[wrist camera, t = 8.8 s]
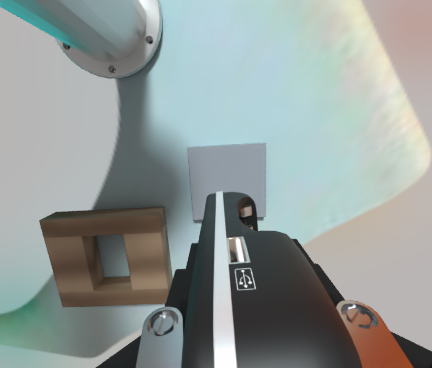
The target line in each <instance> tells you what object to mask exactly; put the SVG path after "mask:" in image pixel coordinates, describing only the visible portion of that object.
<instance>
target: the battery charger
mask: <svg viewBox="0 0 432 368" xmlns="http://www.w3.org/2000/svg"><path fill="white" fill-rule="evenodd" d="M181 368H363V367H362V363H361V360H360V357H359V353H358V351H357V349H356V346H355V344H354V342H353V339H352V337H351V335H350V333H349V331H348V329H347V327H346V326H345V324H344V322H343V320H342V318H341V316H340V314H339V312H338V310H337V309H336V307H335V305H334V303H333V302H332V300H331V298H330V297H329V295H328V293H327V291H326V290H325V288H324V286H323V285H322V283H321V281H320V280H319V278H318V276H317V275H316V273H315V271H314V270H313V268H312V266H311V265H310V263H309V262H308V260H307V259H306V257H305V256H304V254H303V253H302V252H301V251H300V249H299V248H298V247H297V246H296V244H295V243H294V242H293V240H292V239H291V238H290V237H289V236H288V235H287V234H284V233H281V232H277V231H258V225H257V210H256V205H255V202H254V200H253V199H252V198H251V197H250V196H249V195H247V194H244V193H240V192H223V191H219V192H216V193H212V194H209V195H208V196H207V198H206V204H205V211H204V216H203V221H202V226H201V231H200V236H199V241H198V246H197V252H196V257H195V263H194V269H193V275H192V282H191V288H190V294H189V300H188V307H187V313H186V321H185V329H184V336H183V348H182V361H181Z"/></svg>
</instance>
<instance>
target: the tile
mask: <svg viewBox="0 0 432 368" xmlns="http://www.w3.org/2000/svg"><path fill="white" fill-rule="evenodd" d="M187 149H188V160H189V172H190V184H191V195H192V207H193V219H194V220H203V216H204V211H205V204H206V198H207V196H208V195H209V194H212V193H216V192H219V191H223V192H240V193H244V194H247V195H249V196H250V197H251V198H252V199H253V200H254V202H255V205H256V210H257V217H266V143H251V144H233V145H215V146H196V147H187Z"/></svg>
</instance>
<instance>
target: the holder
mask: <svg viewBox="0 0 432 368" xmlns="http://www.w3.org/2000/svg"><path fill="white" fill-rule="evenodd" d="M40 225H41V229H42V232H43V236H44V240H45V244H46V247H47V251H48V254H49V258H50V262H51V265H52V269H53V273H54V276H55V280H56V284H57V287H58V291H59V295H60V298H61V302H62V305H63V307H82V306H108V305H135V304H161V303H166V301H167V297H168V294H169V291H170V287H171V284H172V281H173V278H172V270H171V262H170V253H169V245H168V237H167V228H166V220H165V212H164V207H151V208H130V209H109V210H88V211H68V212H55V213H54V214H51V215H49V216H47V217H46V218H43V219H41V220H40ZM122 234H123V238H124V244H125V250H126V255H127V261H128V267H129V272H130V276H124V277H104V273H103V268H102V264H101V259H100V254H99V249H98V245H97V240H96V236H100V235H122Z"/></svg>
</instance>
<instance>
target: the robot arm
mask: <svg viewBox="0 0 432 368" xmlns="http://www.w3.org/2000/svg"><path fill="white" fill-rule="evenodd" d="M0 7H1V8H3V9H5V10H7V11H9V12H10V13H12V14H14V15H16V16H17V17H19V18H21V19H23V20H25V21H26V22H28V23H30V24H32V25H33V26H35V27H37V28H39V29H40V30H42V31H44V32H46V33H48V34H49V35H51V36H53V37H55V39H56V41H57V43H58V44H59V46H60V47H61V49H62V50H63V52H64V53H65V54H66V55H67V56H68V57H69V58H70V59H71V61H73V62H74V63H75V64H76V65H78V66H79V67H80V68H82V69H84V70H86V71H88V72H90V73H92V74H94V75H97V76H100V77H105V78H123V77H127V76H130V75H132V74H134V73H136V72H138V71H139V70H141V69H142V68H143V67H145V66H146V64H147V63H148V62H149V61H150V60H151V59H152V57H153V55H154V53H155V52H156V50H157V48H158V45H159V42H160V39H161V32H162V12H161V7H160V2H159V0H0ZM150 41H153V43H152V44H150ZM70 47H71V48H70ZM114 69H116V71H115V73H114ZM292 240H293V242H294V243H295V244H296V246H297V247H298V248H299V249H300V251H301V252H302V253H303V254H304V256H305V257H306V259H307V260H308V262H309V263H310V265H311V266H312V268H313V270H314V271H315V273H316V275H317V276H318V278H319V280H320V281H321V283H322V285H323V286H324V288H325V290H326V291H327V293H328V295H329V297H330V298H331V300H332V302H333V303H334V305H335V307H336V309H337V310H338V312H339V314H340V316H341V318H342V320H343V322H344V324H345V326H346V327H347V329H348V331H349V333H350V335H351V337H352V339H353V342H354V344H355V346H356V349H357V351H358V353H359V357H360V360H361V363H362V367H363V368H432V351H430V350H427V349H425V348H423V347H421V346H419V345H417V344H415V343H413V342H411V341H409V340H407V339H405V338H403V337H400V336H399V335H397V334H395V333H393V332H391V331H390V330H389V329H388V327H387V326H386V324H385V323H384V321H383V320H382V318H381V317H380V315H379V314H378V313H377V312H376V311H375V310H373V309H372V308H371V307H369V306H367V305H365V304H363V303H361V302H358V301H353V300H345V299H344V298H343V297H342V295H341V294H340V293H339V291H338V290H337V289H336V287H335V286H334V285H333V283H332V282H331V280H330V279H329V278H328V276H327V275H326V274H325V273H324V271H323V270H322V268H321V267H320V266H319V265H318V264H314V263H313V261H312V260H311V259H310V257H309V256H308V255H307V253H306V252H305V250H304V249H303V247H302V246H301V245H300V243H299V242H298V240H297V239H292ZM197 246H198V243H192V244H191V249H190V253H189V257H188V262H187V266H186V269H177V270H176V271H175V274H174V277H173V281H172V284H171V287H170V291H169V294H168V297H167V301H166V304H165V307H163V308H159V309H157V310H155V311H153V312H152V313H151V314H150V315H149V316H148V317H147V318H146V320H145V322H144V325H143V329H142V335H141V336H139V337H138V338H137V339H135V340H134V341H132V342H131V343H130V344H128V345H127V346H125V347H124V348H123V349H121V350H120V351H119V352H117V353H116V354H114V355H113V356H111V357H110V358H109V359H107V360H106V361H104V362H103V363H102V364H101V365H99V366H98V367H96V368H181V361H182V348H183V336H184V329H185V321H186V313H187V307H188V300H189V294H190V288H191V282H192V275H193V269H194V263H195V257H196V252H197Z"/></svg>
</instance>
